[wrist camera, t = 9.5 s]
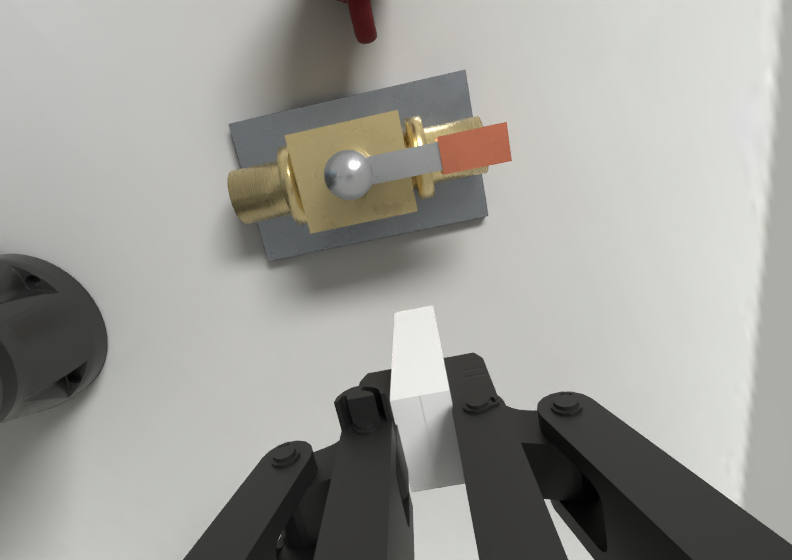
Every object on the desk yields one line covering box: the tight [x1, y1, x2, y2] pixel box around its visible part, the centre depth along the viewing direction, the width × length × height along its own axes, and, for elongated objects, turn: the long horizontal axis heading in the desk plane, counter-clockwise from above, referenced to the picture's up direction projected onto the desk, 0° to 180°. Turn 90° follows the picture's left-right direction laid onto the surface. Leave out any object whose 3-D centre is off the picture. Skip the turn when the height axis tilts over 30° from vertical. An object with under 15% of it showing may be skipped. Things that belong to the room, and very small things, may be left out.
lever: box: [324, 122, 512, 200], centre depth 30 cm, size 12×3×3 cm, turn 102°
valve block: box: [228, 70, 488, 261], centre depth 36 cm, size 20×12×8 cm, turn 102°
